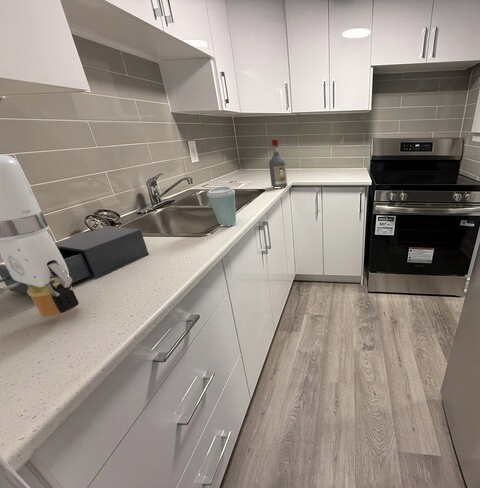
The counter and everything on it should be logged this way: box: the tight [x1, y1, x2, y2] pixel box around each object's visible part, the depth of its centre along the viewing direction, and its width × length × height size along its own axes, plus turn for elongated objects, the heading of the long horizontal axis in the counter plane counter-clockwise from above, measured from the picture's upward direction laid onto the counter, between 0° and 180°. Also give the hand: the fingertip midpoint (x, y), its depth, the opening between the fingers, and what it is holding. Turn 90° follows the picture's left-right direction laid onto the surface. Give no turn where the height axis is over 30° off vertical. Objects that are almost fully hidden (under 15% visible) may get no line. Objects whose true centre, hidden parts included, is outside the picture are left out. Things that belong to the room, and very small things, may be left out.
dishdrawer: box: [54, 225, 150, 280], centre depth 78 cm, size 16×15×9 cm
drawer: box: [0, 248, 93, 297], centre depth 66 cm, size 19×13×7 cm
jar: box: [27, 278, 80, 317], centre depth 55 cm, size 6×6×6 cm
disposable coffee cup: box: [206, 185, 237, 227], centre depth 106 cm, size 11×11×15 cm
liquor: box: [268, 139, 288, 188], centre depth 172 cm, size 9×9×30 cm
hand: (59, 304), depth 55 cm, fingers closed on jar, 6 cm apart
